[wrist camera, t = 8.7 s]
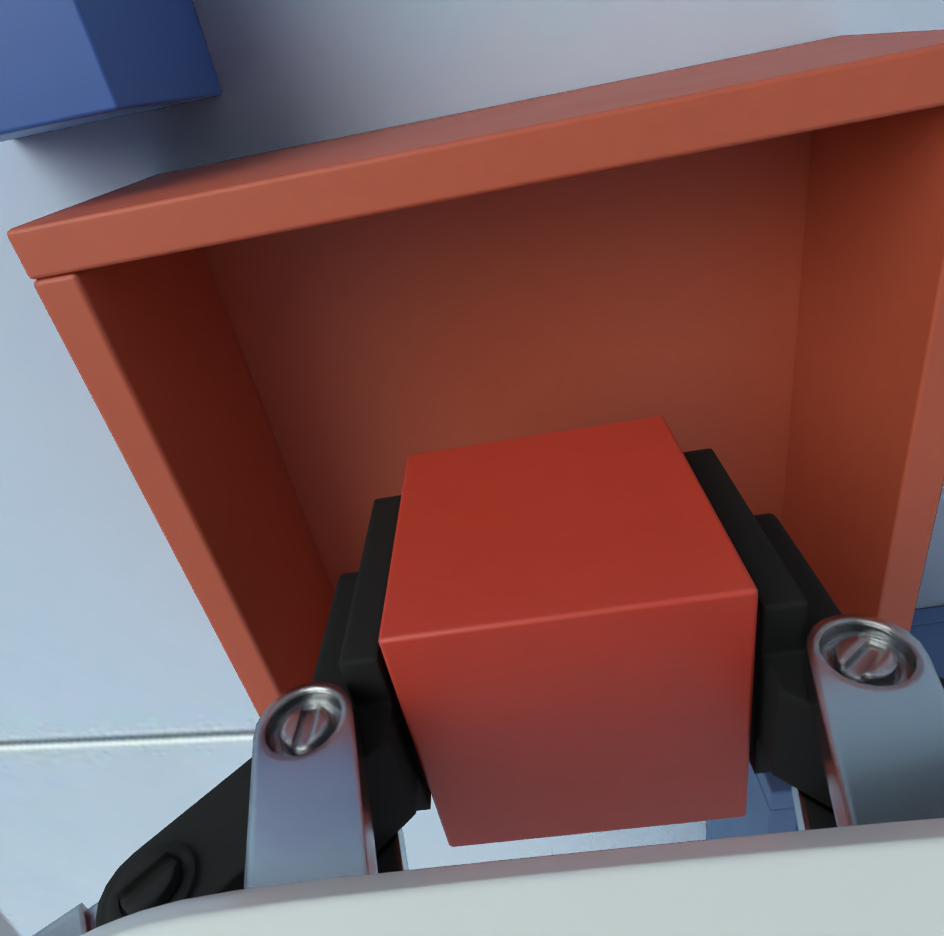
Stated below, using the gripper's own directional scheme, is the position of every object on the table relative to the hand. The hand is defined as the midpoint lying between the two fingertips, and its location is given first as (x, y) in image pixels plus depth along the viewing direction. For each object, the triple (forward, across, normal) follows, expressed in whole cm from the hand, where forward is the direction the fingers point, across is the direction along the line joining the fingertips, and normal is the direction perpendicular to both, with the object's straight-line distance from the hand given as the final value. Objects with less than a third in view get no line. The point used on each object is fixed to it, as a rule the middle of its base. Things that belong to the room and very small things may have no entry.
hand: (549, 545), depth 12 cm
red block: (0, 0, 0) cm, 0 cm away
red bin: (+5, 0, 0) cm, 5 cm away
